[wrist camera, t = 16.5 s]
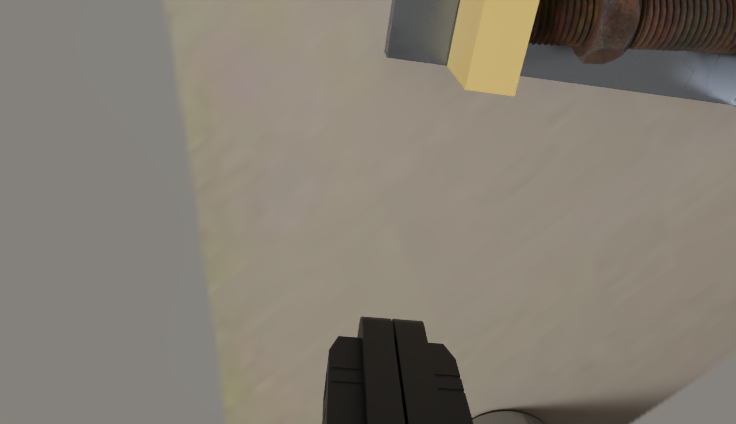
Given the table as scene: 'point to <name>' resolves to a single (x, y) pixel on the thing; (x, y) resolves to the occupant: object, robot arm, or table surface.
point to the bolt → (635, 26)
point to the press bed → (568, 58)
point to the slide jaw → (491, 44)
